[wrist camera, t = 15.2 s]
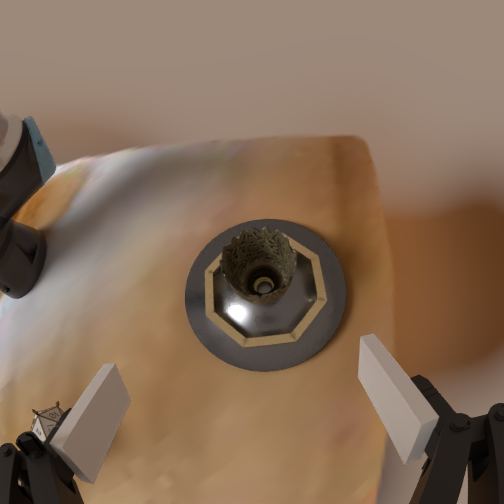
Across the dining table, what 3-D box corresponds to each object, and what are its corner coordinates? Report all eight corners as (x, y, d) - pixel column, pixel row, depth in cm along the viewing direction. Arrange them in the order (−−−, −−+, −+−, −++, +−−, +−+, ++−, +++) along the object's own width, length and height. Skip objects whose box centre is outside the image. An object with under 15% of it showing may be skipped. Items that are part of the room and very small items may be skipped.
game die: (81, 438, 30) (29, 447, 22) (69, 392, 31) (13, 398, 24) (103, 463, 25) (41, 476, 17) (87, 411, 26) (19, 421, 18)
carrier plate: (159, 302, 36) (153, 297, 34) (255, 201, 42) (253, 193, 40) (276, 405, 28) (275, 406, 26) (372, 275, 34) (376, 269, 32)
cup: (304, 305, 32) (309, 279, 25) (244, 326, 32) (231, 306, 25) (282, 252, 36) (280, 216, 29) (227, 271, 36) (211, 239, 29)
